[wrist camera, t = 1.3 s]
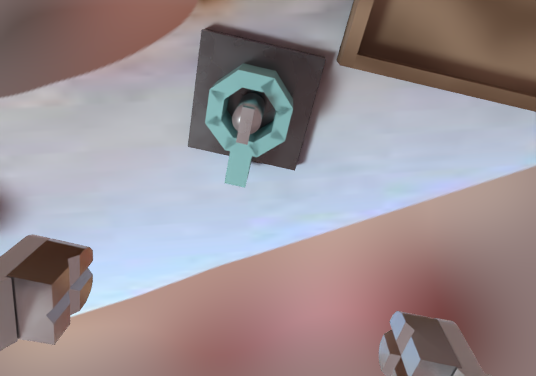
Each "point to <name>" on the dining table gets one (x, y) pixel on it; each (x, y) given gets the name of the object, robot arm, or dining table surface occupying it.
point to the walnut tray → (448, 45)
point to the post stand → (254, 93)
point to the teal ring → (262, 138)
